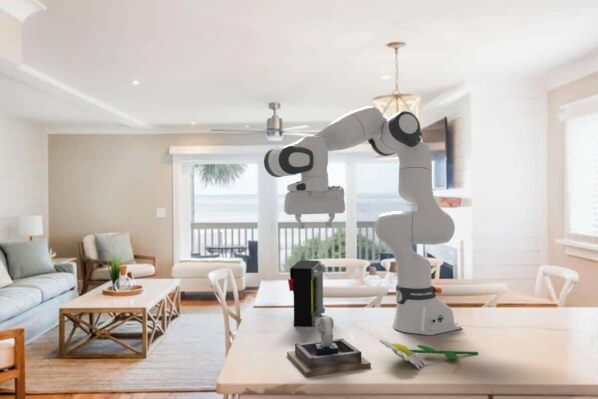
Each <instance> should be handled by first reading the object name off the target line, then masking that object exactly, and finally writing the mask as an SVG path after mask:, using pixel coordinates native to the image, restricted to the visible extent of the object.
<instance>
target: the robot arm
mask: <svg viewBox="0 0 598 399" xmlns="http://www.w3.org/2000/svg"><path fill="white" fill-rule="evenodd" d="M420 124H421V123H420V121H419V119H418V117H417V116H416V115H415V114H414V113H412V112H410V111H408V110H407V111H406V110H405V111H404V110H403V111H399V112H397V113H394V114H393V115H391V117H389V118H388V119H387V118H385V116H383V113H382V112H381V110H380V109H378V108H377V107H376V106H373V105H372V106H371V105H368V106H364V107H360V108H357V109H354V110H352V111H349V112H347V113H346V114H344V115H341V116H340V117H338V118H336V119H335V120H333V121H332V122H330V123H329V124H328V125H327V126H325V127H324V128H322V129H321V130H319V131H317V132H316V133H315V134H313V135H310V134H308V135H304V136H303V137H302V138H300V139H298V140H296V141H295V142H292V143H290V144H287V145H284V146H281V147H273V148H271V149H269V150H268V151H267V152H266V154H265V156H264V158H263V165H264V168H265V171H266V173H267V174H269V175H270V176H272V177H274V178H283V177H288V176H295V175H296V176H297V175H298V174H300V175H301V176H300V177H301V178H300V180H299V181H296V182H293V183H291V184H288V185H287V186H286V190H287V193H286V194H285V197H284V205H283V206H284V213H285V214H286V215H289V216H291V215H294V218H295V220H296V221H297V223H298V229H301V230H302V229H303V230H304V229H305V226H306V225H305V224H306V223H305V222H302V220H301V219H302V215H321V214H322V215H323V214H324V215H325V214H326V215H328V217H329V218H328V221H326V222H325V228H332V223H333V221H334V219H335V216H336V214H343V213H344V212H345V211H346V204H345V199H344V197H345V189H344V188H343V187H342V186H341V185H338V184H337V185H332V184H331V185H329V174H328V165H329V152H334V151H341V150H346V149H350V148H354V147H356V146H358V145H360V144H362V143H364V142H366V141H367V142H368V143H369V145H370V146H371V148H372V150H374V152H375V153H377V154H378V155H379V156H382V157H389V156H392V155H394V154H397V156H398V161H399V166H398V187H397V189H398V195H399V196H400V197H401V198H402V199H403V200H404V201H407V202H408V203H410V204H413V205H414V206H415V207H416V210H408V211H406V210H402V211H399V210H394V211H388V212H384V213H381V214H380V215H378V217H377V219H376V220H375V223H374V232H375V235H376V237H377V238H378V240H380V242H382V243H384V245H386V246H387V248H388V249H389V251H390V252H391V253H392V255H393V258H394V261H395V263H396V264H395V265H396V266H395V267H396V276H397V283H396V286H395V297H396V298H395V299H396V308H395V316H394V321H393V323H392V327H393V329H394V330H396V331H399V332H403V333H407V334H408V333H409V334H417V335H418V334H419V335H424V336H434V335H438V334H443V333H446V332H447V333H448V332H452V331H457V330H461V329H462V325H461V323H459V322H458V321H456V320H455V317H454V313H453V310H452V308H451V306H449V305H447V304H446V303H445V302H444V301H442V300H441V299H440V298H438V297H437V294H439V295H441V294H442V293H443V288H441V287H438V286H436V287H435V286H433V285H432V264H431V262H430V260H429V259H428V258H426V256H424V255H422V254H419V253H417V252H416V251H415V250H414V248H413V245H430V246H431V245H432V246H433V245H434V246H435V245H440V244H446V243H449V242H450V240H452V239H453V237H454V234H455V230H456V228H455V222H454V220H453V218H452V216H451V215H450V214H449V213H447V212H446V211H444V209H442V208H441V207H440V205H439V204H438V203H437V201H436V199H435V196H434V192H433V191H434V190H433V163H432V157H431V156H432V155H431V154H432V153H431V150H430V147H429V145H428V144H427V143H426V142H425V141H421V140H422V139H423V138H422V137H423V133H422V131H421V129H422V128H421V125H420Z"/></svg>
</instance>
